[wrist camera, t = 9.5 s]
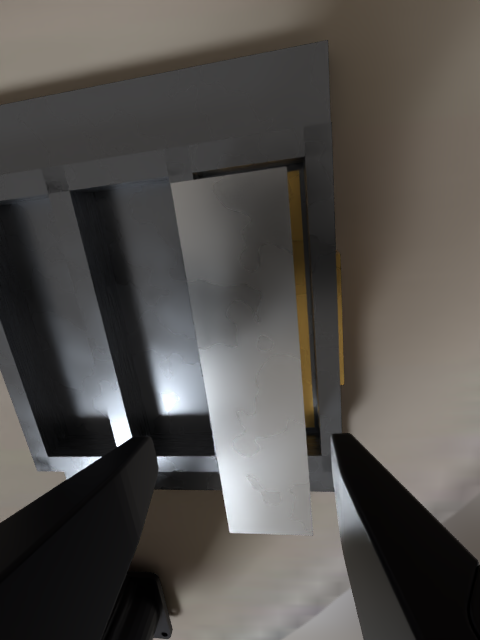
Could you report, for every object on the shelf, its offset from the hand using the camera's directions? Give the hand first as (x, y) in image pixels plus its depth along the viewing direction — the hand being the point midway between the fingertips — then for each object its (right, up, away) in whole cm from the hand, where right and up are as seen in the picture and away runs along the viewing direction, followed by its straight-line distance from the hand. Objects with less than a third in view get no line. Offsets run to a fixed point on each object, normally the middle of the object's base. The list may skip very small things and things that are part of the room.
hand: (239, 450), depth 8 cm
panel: (+1, +3, +9) cm, 10 cm away
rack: (-4, +3, +11) cm, 12 cm away
